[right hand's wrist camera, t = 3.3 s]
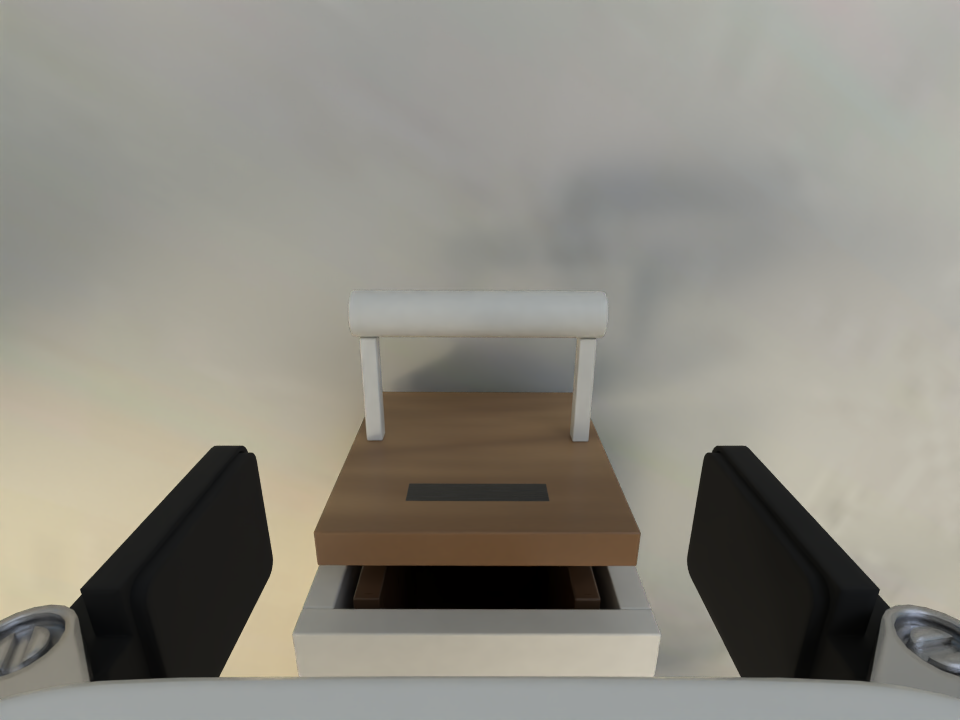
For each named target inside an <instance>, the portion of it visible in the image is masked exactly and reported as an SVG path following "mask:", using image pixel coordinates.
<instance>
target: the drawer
mask: <svg viewBox="0 0 960 720" xmlns="http://www.w3.org/2000/svg"><path fill="white" fill-rule="evenodd" d="M348 322H349V328H350V331H351V334H352V335H353V336H355V337H360V339H359V342H360V355H361V368H362V382H363V395H364V408H365V417H364V420H363V422H362V424H361V427H360V429H359V431H358V433H357V436H356V438H355V440H354V442H353V445H352V447H351V449H350V451H349V454H348V456H347V458H346V461H345V463H344V465H343V467H342V470H341V472H340V474H339V476H338V479H337V481H336V483H335V485H334V488H333V490H332V492H331V495H330V497H329V499H328V501H327V504H326V506H325V508H324V510H323V513H322V515H321V517H320V519H319V522H318V524H317V526H316V529H315V531H314V538H315V546H316V554H317V562H318V565H363V566H362V570H361V573H360V577H359V580H358V584H357V587H356V591H355V594H354V598H353V602H354V609H590V610H600V601H601V599H600V595H599V592H598V588H597V585H596V581H595V577H594V574H593V570H592V567H591V566H636V564H637V557H638V550H639V543H640V535H641V533H640V530H639V528H638V526H637V523H636V521H635V519H634V517H633V514H632V512H631V510H630V507H629V505H628V503H627V501H626V498H625V496H624V494H623V491H622V489H621V487H620V484H619V482H618V480H617V478H616V475H615V473H614V471H613V468H612V466H611V464H610V461H609V459H608V457H607V455H606V452H605V450H604V448H603V445H602V443H601V441H600V438H599V436H598V434H597V432H596V429H595V427H594V425H593V422H592V420H591V418H590V415H591V404H592V392H593V380H594V369H595V357H596V345H597V339H596V338H602V337H604V335H605V333H606V330H607V325H608V301H607V297H606V294H605V292H603V291H478V290H353V291H352V292H351V294H350V297H349V302H348ZM379 337H538V338H577V344H576V358H575V372H574V386H573V393H542V392H382V376H381V360H380V344H379Z"/></svg>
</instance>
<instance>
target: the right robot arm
mask: <svg viewBox="0 0 960 720" xmlns="http://www.w3.org/2000/svg"><path fill="white" fill-rule="evenodd" d="M272 565H273V556H272V550H271V544H270V538H269V532H268V526H267V520H266V514H265V508H264V502H263V496H262V490H261V484H260V478H259V472H258V466H257V460H256V456H255V455H254V454H253V453H248V451H247V449H246V447H244V446H214V447H212V448H211V449H210V450H209V451H208V452H207V453H206V454H205V456H204V457H203V458H202V459H201V460H200V461H199V462H198V463H197V464H196V465H195V466H194V467H193V468H192V470H191V471H190V472H189V473H188V474H187V475H186V476H185V477H184V478H183V479H182V480H181V481H180V482H179V484H178V485H177V486H176V487H175V488H174V489H173V490H172V491H171V492H170V493H169V494H168V495H167V496H166V498H165V499H164V500H163V501H162V502H161V503H160V504H159V505H158V506H157V507H156V508H155V509H154V510H153V512H152V513H151V514H150V515H149V516H148V517H147V518H146V519H145V520H144V521H143V522H142V523H141V524H140V526H139V527H138V528H137V529H136V530H135V531H134V532H133V533H132V534H131V535H130V536H129V537H128V538H127V540H126V541H125V542H124V543H123V544H122V545H121V546H120V547H119V548H118V549H117V550H116V551H115V552H114V554H113V555H112V556H111V557H110V558H109V559H108V560H107V561H106V562H105V563H104V564H103V565H102V566H101V568H100V569H99V570H98V571H97V572H96V573H95V574H94V575H93V576H92V577H91V578H90V579H89V580H88V582H87V583H86V584H85V585H84V586H83V587H82V588H81V589H80V591H81V594H82V595H81V596H80V597H79V598H78V599H77V600H76V601H75V603H74V604H73V605H72V606H71V607H70V608H68V607H66V606H62V605H46V606H39V607H34V608H31V609H27V610H24V611H21V612H18V613H15V614H13V615H11V616H9V617H7V618H5V619H3V620H0V720H960V621H959V620H957V619H955V618H953V617H951V616H949V615H947V614H945V613H942V612H939V611H936V610H933V609H929V608H926V607H921V606H914V605H898V606H894V607H892V608H890V607H889V606H888V605H887V604H886V603H885V601H884V600H883V599H882V598H881V597H880V596H879V595H878V594H879V591H880V589H879V588H878V587H877V586H876V585H875V584H874V583H873V582H872V580H871V579H870V578H869V577H868V576H867V575H866V574H865V573H864V572H863V571H862V570H861V569H860V568H859V566H858V565H857V564H856V563H855V562H854V561H853V560H852V559H851V558H850V557H849V556H848V555H847V554H846V552H845V551H844V550H843V549H842V548H841V547H840V546H839V545H838V544H837V543H836V542H835V541H834V540H833V538H832V537H831V536H830V535H829V534H828V533H827V532H826V531H825V530H824V529H823V528H822V527H821V526H820V524H819V523H818V522H817V521H816V520H815V519H814V518H813V517H812V516H811V515H810V514H809V513H808V512H807V510H806V509H805V508H804V507H803V506H802V505H801V504H800V503H799V502H798V501H797V500H796V499H795V498H794V496H793V495H792V494H791V493H790V492H789V491H788V490H787V489H786V488H785V487H784V486H783V485H782V484H781V482H780V481H779V480H778V479H777V478H776V477H775V476H774V475H773V474H772V473H771V472H770V471H769V470H768V468H767V467H766V466H765V465H764V464H763V463H762V462H761V461H760V460H759V459H758V458H757V457H756V456H755V454H754V453H753V452H752V451H751V450H750V449H749V448H748V447H746V446H716V447H714V449H713V451H712V453H707V454H706V455H705V456H704V460H703V466H702V472H701V478H700V484H699V490H698V496H697V502H696V508H695V514H694V520H693V526H692V532H691V538H690V544H689V550H688V556H687V565H688V571H689V574H690V577H691V579H692V581H693V583H694V585H695V587H696V589H697V591H698V593H699V595H700V597H701V599H702V601H703V603H704V604H705V606H706V608H707V610H708V612H709V614H710V616H711V618H712V620H713V622H714V624H715V626H716V628H717V630H718V632H719V634H720V636H721V638H722V640H723V642H724V644H725V646H726V648H727V650H728V652H729V654H730V656H731V658H732V660H733V662H734V664H735V666H736V668H737V670H738V672H739V674H740V676H741V677H604V676H356V677H219V676H220V674H221V672H222V670H223V668H224V666H225V664H226V662H227V660H228V658H229V656H230V654H231V652H232V650H233V648H234V646H235V644H236V642H237V640H238V638H239V636H240V634H241V632H242V630H243V628H244V626H245V624H246V622H247V620H248V618H249V616H250V614H251V612H252V610H253V608H254V606H255V604H256V603H257V601H258V599H259V597H260V595H261V593H262V591H263V589H264V587H265V585H266V583H267V581H268V579H269V577H270V574H271V571H272Z"/></svg>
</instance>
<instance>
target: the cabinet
mask: <svg viewBox="0 0 960 720" xmlns="http://www.w3.org/2000/svg"><path fill="white" fill-rule="evenodd" d="M362 566H363V565H319V567H318V570H317V572H316V575H315V578H314V580H313V583H312V585H311V588H310V590H309V593H308V595H307V598H306V601H305V603H304V606H303V609H302V611H301V613H300V616H299V618H298V621H297V623H296V626H295V629H294V631H293V634H292V636H293V642H294V649H295V656H296V662H297V669H298V675H299V677H356V676H604V677H655V671H656V665H657V658H658V652H659V646H660V640H661V633H660V630H659V628H658V625H657V622H656V620H655V617H654V615H653V612H652V610H651V606H650V603H649V601H648V598H647V596H646V593H645V591H644V588H643V585H642V583H641V580H640V578H639V575H638V572H637V570H636V567H635V566H591V567H592V570H593V574H594V577H595V581H596V585H597V588H598V592H599V595H600V599H601V601H600V610H590V609H354V602H353V598H354V594H355V591H356V587H357V584H358V580H359V577H360V573H361V570H362Z"/></svg>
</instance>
